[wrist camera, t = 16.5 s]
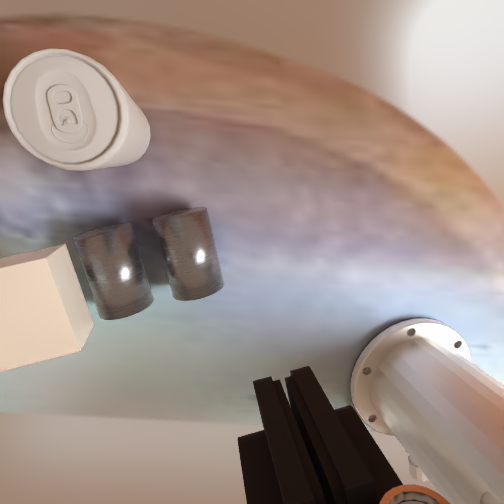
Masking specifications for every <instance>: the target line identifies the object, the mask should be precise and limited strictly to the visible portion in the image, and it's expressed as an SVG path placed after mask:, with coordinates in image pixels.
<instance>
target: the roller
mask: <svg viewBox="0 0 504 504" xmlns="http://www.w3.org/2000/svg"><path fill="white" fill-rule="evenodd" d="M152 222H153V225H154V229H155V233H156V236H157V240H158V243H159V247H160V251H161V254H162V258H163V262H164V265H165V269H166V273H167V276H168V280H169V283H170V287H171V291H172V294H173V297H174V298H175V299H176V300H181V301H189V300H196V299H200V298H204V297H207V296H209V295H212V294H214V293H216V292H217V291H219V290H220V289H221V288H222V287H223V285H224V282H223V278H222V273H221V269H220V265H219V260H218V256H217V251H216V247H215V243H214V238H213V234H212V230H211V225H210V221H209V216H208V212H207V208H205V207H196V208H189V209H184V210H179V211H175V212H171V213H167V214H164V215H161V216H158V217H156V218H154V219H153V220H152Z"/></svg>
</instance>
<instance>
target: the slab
mask: <svg viewBox="0 0 504 504" xmlns="http://www.w3.org/2000/svg"><path fill="white" fill-rule="evenodd" d="M93 327H94V324H93V321H92V318H91V315H90V312H89V309H88V307H87V304H86V301H85V298H84V295H83V292H82V289H81V287H80V284H79V281H78V278H77V275H76V272H75V270H74V267H73V264H72V261H71V258H70V255H69V252H68V250H67V247H66V244H62V245H57V246H53V247H48V248H44V249H39V250H35V251H30V252H26V253H21V254H17V255H12V256H7V257H3V258H0V372H2V371H6V370H10V369H14V368H17V367H21V366H25V365H29V364H33V363H37V362H41V361H45V360H49V359H52V358H56V357H60V356H64V355H68V354H72V353H76V352H80V351H81V349H82V348H83V346H84V344H85V342H86V340H87V338H88V336H89V334H90V333H91V331H92V329H93Z"/></svg>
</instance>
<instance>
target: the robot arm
mask: <svg viewBox="0 0 504 504" xmlns="http://www.w3.org/2000/svg"><path fill="white" fill-rule="evenodd" d="M285 382H286V387H287V392H288V397H289V401H290V405H289V402H288V400H287V397H286V395H285V392H284V390H283V387H282V384H281V382H280V380H276V381H273V380H272V378H271V376H270V377H266V378H263V379H259V380H255V381H253V384H254V389H255V393H256V397H257V401H258V406H259V410H260V414H261V418H262V423H263V427H264V430H263V431H259V432H255V433H252V434H248V435H245V436H242V437H238V446H239V453H240V460H241V466H242V473H243V480H244V487H245V493H246V500H247V504H504V385H503V384H502V383H500V382H499V381H498V380H496V379H495V378H493V377H492V376H490V375H489V374H488V373H486V372H485V371H483V370H482V369H481V368H479V367H478V366H476V365H475V364H474V363H472V362H471V355H470V352H469V349H468V346H467V344H466V342H465V341H464V339H463V338H462V336H461V335H459V334H458V333H457V332H456V331H455V330H454V329H452V328H451V327H449V326H447V325H446V324H444V323H442V322H439V321H437V320H432V319H426V318H420V319H410V320H406V321H402V322H400V323H397V324H395V325H392V326H390V327H389V328H387V329H386V330H384V331H382V332H381V333H380V334H378V335H377V336H376V337H375V338H374V339H373V340H372V341H371V342H370V343H369V344H368V345H367V346H366V348H365V349H364V350H363V351H362V353H361V355H360V356H359V358H358V360H357V362H356V364H355V367H354V370H353V372H352V378H351V383H350V385H351V397H352V401H353V404H354V406H355V408H356V410H357V412H358V414H359V415H360V416H361V418H362V419H363V420H364V422H365V423H366V424H368V425H369V426H370V427H371V428H372V429H374V430H376V431H378V432H380V433H384V434H387V435H394V436H395V437H396V438H397V439H398V441H399V442H400V443H401V444H402V446H403V447H404V448H405V450H406V452H407V453H408V454H409V456H408V461H409V472H410V475H411V476H412V478H414V479H415V480H417V481H421V482H423V481H427V480H429V481H430V482H431V484H432V485H433V486H434V488H435V489H436V490H437V492H438V493H436V492H435V491H433V490H431V489H429V488H427V487H423V486H419V485H403V484H402V482H401V481H400V479H399V478H398V476H397V474H396V473H395V471H394V470H393V468H392V467H391V465H390V464H389V463H388V461H387V459H386V458H385V456H384V454H383V453H382V451H381V450H380V449H379V447H378V445H377V444H376V442H375V441H374V439H373V438H372V436H371V435H370V433H369V431H368V430H367V428H366V427H365V425H364V424H363V422H362V421H361V419H360V418H359V416H358V414H357V413H356V411H355V410H354V409H353V407H352V406H350V405H349V406H346V407H342V408H339V409H336V410H334V409H333V407H332V405H331V404H330V402H329V400H328V398H327V397H326V395H325V393H324V391H323V390H322V388H321V386H320V384H319V382H318V381H317V379H316V377H315V375H314V374H313V372H312V370H311V368H310V367H309V366H307V367H303V368H299V369H296V370H292V371H291V376H290V377H287V378H285ZM290 406H291V408H290Z"/></svg>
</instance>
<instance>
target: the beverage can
mask: <svg viewBox="0 0 504 504" xmlns="http://www.w3.org/2000/svg"><path fill="white" fill-rule="evenodd" d="M3 107H4V114H5V118H6V120H7V123H8V125H9V127H10V130H11V132H12V133H13V135H14V136H15V137H16V139H17V140H18V141H19V143H20V144H21V145H22V146H23V147H24V148H25V149H26V150H28V151H29V152H30V153H31V154H32V155H33V156H35V157H37V158H39V159H41V160H43V161H45V162H46V163H48V164H50V165H52V166H55V167H58V168H62V169H66V170H92V169H100V168H108V167H116V166H123V165H127V164H131V163H133V162H135V161H136V160H138V159H139V158H140V157H141V156H142V155H143V154H144V153H145V151H146V149H147V147H148V145H149V141H150V137H151V136H150V126H149V124H148V121H147V118H146V117H145V115H144V114H143V112H142V111H141V109H140V108H139V107H138V106H137V105H136V104H135V102H134V101H133V100H132V99H131V98H130V96H129V95H128V93H127V92H126V91H125V89H124V88H123V87H122V85H121V84H120V83H119V82H118V80H117V79H116V78H115V77H114V76H113V75H112V74H111V73H110V72H109V71H108V70H107V69H106V68H105V67H104V66H103V65H101V64H100V63H98V62H96V61H95V60H93V59H92V58H90V57H88V56H86V55H83V54H80V53H77V52H74V51H70V50H65V49H51V48H50V49H46V50H41V51H36V52H34V53H32V54H30V55H28V56H27V57H25V58H23V59H21V60H20V61H19V62H18V64H17V65H16V66H15V67H14V68H13V69H12V70H11V72H10V74H9V76H8V78H7V80H6V83H5V85H4V93H3Z"/></svg>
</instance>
